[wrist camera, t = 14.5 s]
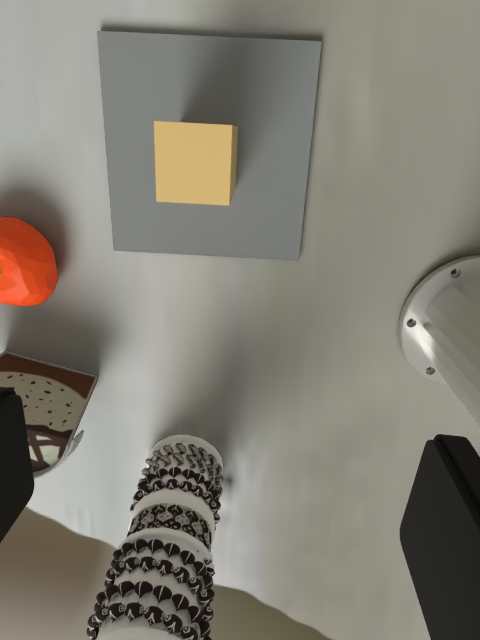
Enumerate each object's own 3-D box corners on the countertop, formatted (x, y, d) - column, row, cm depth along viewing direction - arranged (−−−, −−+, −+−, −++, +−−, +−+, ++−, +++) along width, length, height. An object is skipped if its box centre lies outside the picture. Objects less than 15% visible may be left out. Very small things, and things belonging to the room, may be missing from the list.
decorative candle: (238, 487, 48) (222, 809, 25) (161, 503, 49) (81, 822, 27) (212, 423, 45) (167, 728, 22) (131, 442, 46) (8, 748, 23)
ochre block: (238, 127, 33) (232, 125, 24) (235, 187, 34) (229, 205, 26) (179, 123, 33) (153, 120, 24) (180, 185, 34) (156, 201, 26)
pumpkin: (41, 306, 41) (-1, 341, 35) (-28, 241, 38) (-85, 267, 33) (88, 263, 38) (50, 294, 32) (17, 191, 35) (-37, 210, 30)
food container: (-14, 396, 44) (-84, 465, 35) (-11, 346, 42) (-85, 406, 33) (103, 427, 45) (64, 501, 36) (113, 379, 43) (74, 446, 34)
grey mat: (320, 42, 31) (321, 41, 30) (298, 258, 37) (298, 260, 37) (99, 32, 31) (97, 30, 30) (115, 248, 37) (113, 250, 37)
